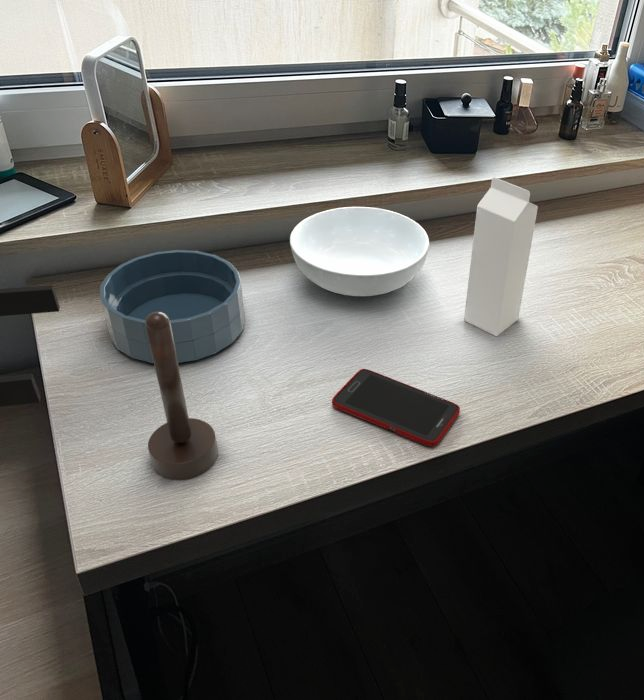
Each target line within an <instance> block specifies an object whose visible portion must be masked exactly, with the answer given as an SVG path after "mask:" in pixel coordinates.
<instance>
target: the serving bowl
mask: <svg viewBox="0 0 644 700" xmlns="http://www.w3.org/2000/svg"><path fill="white" fill-rule="evenodd" d="M289 245H290V250H291V254H292V257H293V259H294V261H295V264H296V266H297V267H298V270H300V271H301V273H302V274H303V275H304V276H305V277H306V278H307V279H309V280H310V281H311V282H312V283H313V284H315V285H317V286H318V287H320V288H322V289H324V290H326V291H329V292H332V293H335V294H338V295H339V294H340V295H343V296H351V297H372V296H378V295H383V294H387V293H392V292H393V291H397V290H398V289H400V288H403V287H404V286H405V285H407V284H408V283H410V282H411V281H412V280H414V279H415V278H416V276H417V275H418V274H419V273H420V271H421V270H422V269H423V267H424V265H425V262H426V260H427V258H428V254H429V250H430V237H429V236H428V234H427V232H426V230H425V229H424V228H423V226H421V224H419V223H418V222H417V221H415V220H414V219H411V218H410V217H409V216H406V215H403V214H401V213H398V212H395V211H392V210H388V209H384V208H379V207H369V206H345V207H337V208H331V209H327V210H324V211H320V212H317V213H314V214H312V215H310V216H308V217H306V218H304V219H303V220H301V221H300V222H299V223H298V224H296V226H295V227H294V228H293V229H292V231H291V233H290V236H289Z"/></svg>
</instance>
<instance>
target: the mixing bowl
mask: <svg viewBox="0 0 644 700" xmlns="http://www.w3.org/2000/svg"><path fill="white" fill-rule="evenodd" d="M99 300H100V304H101V307H102V311H103V315H104V318H105V323H106V327H107V330H108V335H109V338H110V340H111V342H112V343H113V344H114V346H115V348H116V349H117V350H118V351H120V352H122V353H123V354H125V355H126V356H128V357H130V358H131V359H135V360H139V361H143V362H147V363H151V364H154V361H153V356H152V352H151V347H150V343H149V338H148V334H147V329H146V325H145V321H146V318H147V316H148V315H149V314H151V313H153V312H162V313H164V314H166V315H167V316H168V318H169V320H170V324H171V329H172V335H173V340H174V345H175V350H176V355H177V360H178V364H180V363H184V362H185V363H186V362H193V361H198V360H201V359H203V358H207V357H209V356H211V355H215V354H217V353H218V352H221V351H222V350H223V349H225V348H227V347H228V346H229V345H231V344H233V343H234V342H235V340H236V339H237V338H238V337H239V336H240V335H241V333H242V332H243V328H244V325H245V322H246V314H245V313H246V312H245V305H244V297H243V287H242V280H241V276H240V273H239V271H238V270H237V268H236V267H234V265H233V264H232V263H231V262H230V261H229V260H226V259H225V258H222V257H220V256H218V255H216V254H212V253H208V252H204V251H199V250H186V249H174V250H163V251H156V252H151V253H147V254H143V255H140V256H137V257H134V258H132V259H129V260H128V261H126V262H123V263H121V264H120V265H118V266H117V267H116V268H114V269H112V271H110V272H109V273H108V274H107V275H106V276H105V278H104V279H103V281H102V283H101V284H100V286H99Z"/></svg>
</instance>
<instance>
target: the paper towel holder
mask: <svg viewBox="0 0 644 700" xmlns="http://www.w3.org/2000/svg"><path fill="white" fill-rule="evenodd" d="M145 325H146V329H147V334H148V338H149V343H150V347H151V352H152V356H153V361H154V363H153V365H154V370H155V374H156V380H157V384H158V388H159V391H160V397H161V401H162V406H163V411H164V416H165V420H166V422H165V423H164V424H162V425H160V426H159V427H157V428H156V429H155V431H153V433H152V434H151V435H150V437H149V439H148V442H147V449H148V453H149V458H150V461H151V465H152V468H153V470H154V471H155V472H156V474H158V475H160V476H161V477H163V478H165V479H169V480H174V481H182V480H189V479H193V478H196V477H198V476H200V475H202V474H204V473H206V472H207V471H208V470H210V469H211V468H212V467H213V466H214V464H215V463H216V461H217V459H218V456H219V449H218V441H217V435H216V431H215V430H214V428H213V426H212V425H211V424H210V423H208V422H206V421H204V420H201V419H199V418H192V417H189V412H188V406H187V403H186V397H185V391H184V387H183V382H182V376H181V371H180V367H179V363H178V360H177V355H176V350H175V345H174V340H173V335H172V329H171V324H170V320H169V318H168V316H167V315H166V314H164V313H162V312H153V313H151V314H149V315H148V316H147V318H146V321H145Z"/></svg>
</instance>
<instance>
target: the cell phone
mask: <svg viewBox="0 0 644 700" xmlns="http://www.w3.org/2000/svg"><path fill="white" fill-rule="evenodd" d="M331 406H332V407H333V408H336V409H337V410H340V411H342V412H345V413H347V414H349V415H351V416H354V417H356V418H359V419H362V420H364V421H366V422H369V423H370V424H374V425H377V426H379V427H381V428H384V429H386V430H388V431H391V432H394V433H395V434H397V435H400V436H402V437H405V438H407V439H409V440H412V441H414V442H417V443H420V444H422V445H424V446H427V447H431V448H433V447H436V446H437V445H438V444H440V442H441V440H442V439H443V438H444V436H445V435H446V434H447V432H448V430H449V429H450V428H451V426H453V424H454V422H455V421H456V420H457V418H458V416H459V415H460V412H461V407H460V406H459V405H458V404H457V403H455V402H452V401H451V400H448V399H445V398H442V397H440V396H437V395H435V394H432V393H429V392H427V391H424V390H422V389H420V388H417V387H415V386H411V385H410V384H406V383H404V382H402V381H398V380H396V379H395V378H391V377H389V376H387V375H384V374H381V373H379V372H376V371H373V370H371V369H367V368H361V369H359V370H358V371H357V372H355V374H354V375H352V377H350V379H349V380H348V381H347V382H346V383H345V384H344V385H343V386H342V387H341V388H340V389H339V390H338V392H336V394H334V396H333V397H332V398H331Z"/></svg>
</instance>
